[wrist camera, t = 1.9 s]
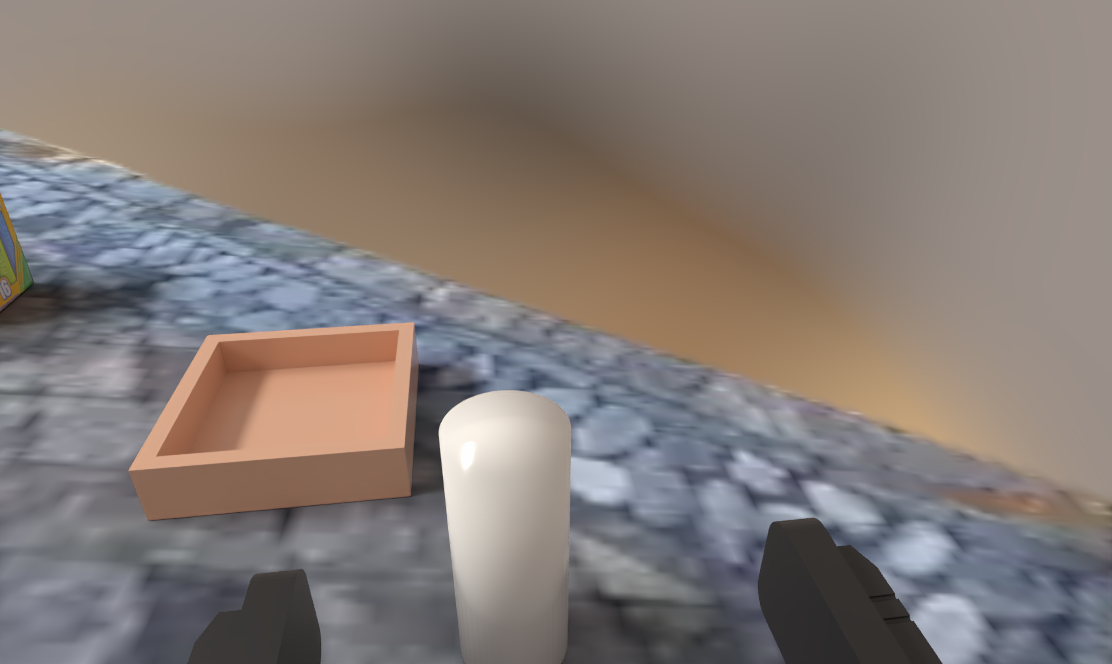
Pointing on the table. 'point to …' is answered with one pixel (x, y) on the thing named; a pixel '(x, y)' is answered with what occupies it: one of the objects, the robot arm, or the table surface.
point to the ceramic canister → (509, 525)
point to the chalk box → (11, 262)
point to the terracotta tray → (285, 423)
